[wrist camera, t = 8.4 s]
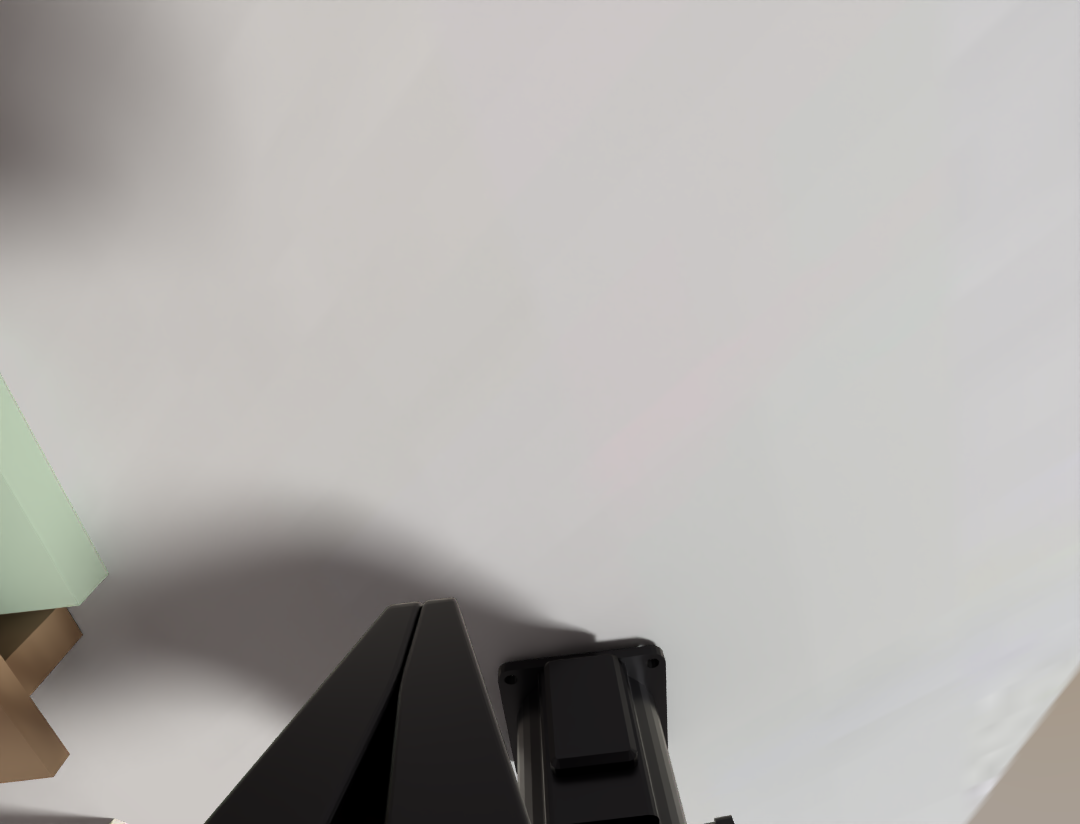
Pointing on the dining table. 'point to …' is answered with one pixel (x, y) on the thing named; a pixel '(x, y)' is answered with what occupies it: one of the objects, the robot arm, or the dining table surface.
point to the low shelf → (30, 691)
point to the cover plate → (38, 526)
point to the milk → (117, 822)
